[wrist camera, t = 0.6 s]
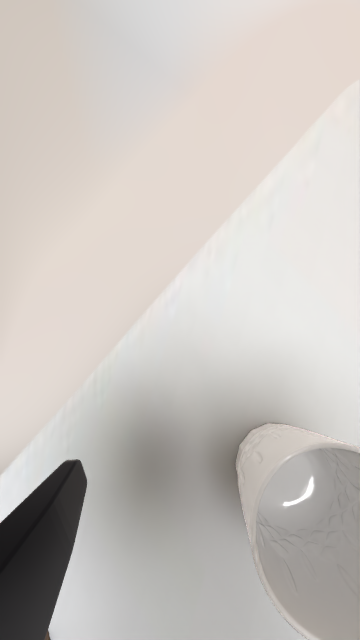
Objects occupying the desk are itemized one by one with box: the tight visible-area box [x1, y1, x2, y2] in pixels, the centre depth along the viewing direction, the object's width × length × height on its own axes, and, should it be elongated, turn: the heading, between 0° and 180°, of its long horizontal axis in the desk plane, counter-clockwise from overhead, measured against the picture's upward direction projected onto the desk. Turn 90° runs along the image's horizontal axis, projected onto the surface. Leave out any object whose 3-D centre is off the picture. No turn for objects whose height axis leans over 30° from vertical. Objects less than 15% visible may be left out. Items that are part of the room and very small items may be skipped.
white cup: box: [235, 423, 360, 640], centre depth 16 cm, size 8×8×10 cm
